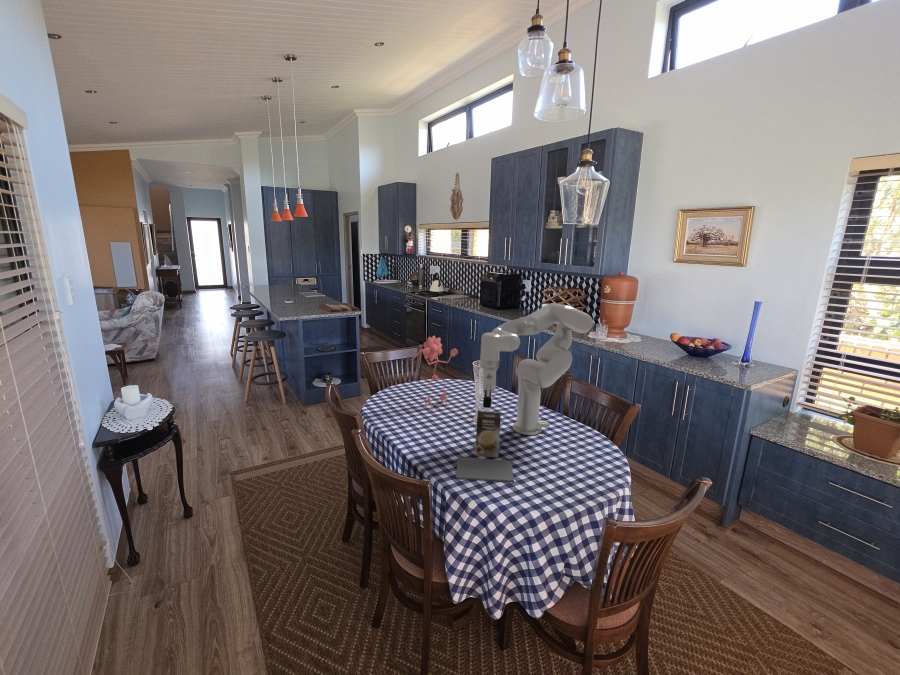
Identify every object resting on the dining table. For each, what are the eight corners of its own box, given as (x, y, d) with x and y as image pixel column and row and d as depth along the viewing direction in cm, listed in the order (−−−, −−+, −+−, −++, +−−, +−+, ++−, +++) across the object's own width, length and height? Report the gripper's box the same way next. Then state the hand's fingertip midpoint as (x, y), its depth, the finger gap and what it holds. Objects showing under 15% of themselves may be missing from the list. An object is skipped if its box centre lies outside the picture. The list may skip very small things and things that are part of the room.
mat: (511, 461, 164) (511, 460, 164) (513, 481, 151) (514, 480, 150) (457, 458, 165) (457, 457, 165) (455, 478, 152) (455, 477, 152)
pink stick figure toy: (461, 402, 223) (461, 335, 215) (420, 414, 206) (419, 342, 199) (441, 394, 234) (441, 330, 227) (401, 405, 218) (400, 336, 210)
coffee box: (474, 456, 168) (476, 417, 164) (475, 448, 174) (476, 410, 171) (498, 457, 167) (500, 418, 164) (498, 450, 173) (500, 411, 170)
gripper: (499, 369, 168) (496, 414, 171) (498, 359, 182) (495, 401, 186) (480, 368, 168) (477, 413, 172) (480, 358, 183) (477, 400, 186)
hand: (486, 406), depth 179 cm, fingers closed
